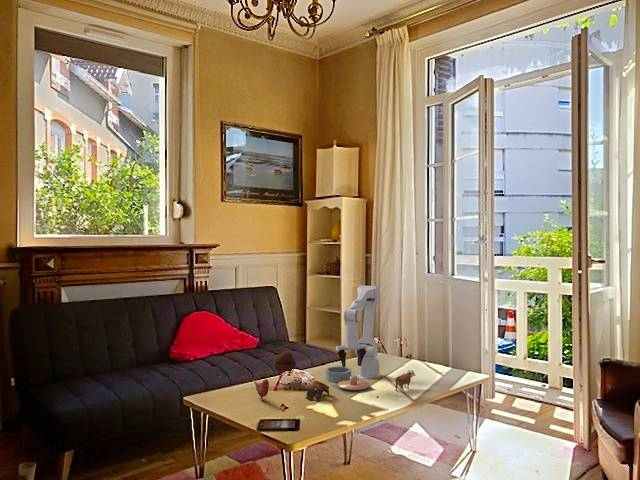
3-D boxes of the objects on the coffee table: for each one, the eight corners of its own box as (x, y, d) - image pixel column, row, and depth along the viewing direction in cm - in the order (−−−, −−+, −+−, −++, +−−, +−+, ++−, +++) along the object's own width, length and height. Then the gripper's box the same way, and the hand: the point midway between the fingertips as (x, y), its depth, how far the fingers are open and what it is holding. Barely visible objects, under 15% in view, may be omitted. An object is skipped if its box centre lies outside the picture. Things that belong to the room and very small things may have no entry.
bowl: (344, 375, 270) (344, 365, 270) (355, 381, 259) (355, 371, 259) (321, 378, 265) (321, 368, 265) (332, 384, 254) (332, 374, 254)
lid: (359, 381, 258) (359, 371, 257) (374, 389, 245) (374, 379, 245) (332, 385, 252) (332, 374, 252) (346, 393, 239) (346, 382, 239)
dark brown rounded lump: (297, 380, 262) (297, 348, 262) (294, 386, 251) (294, 353, 251) (275, 379, 263) (275, 348, 263) (271, 386, 252) (271, 353, 252)
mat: (360, 382, 258) (360, 381, 258) (376, 390, 245) (376, 390, 245) (331, 386, 252) (331, 385, 252) (346, 395, 238) (346, 394, 238)
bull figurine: (417, 387, 250) (417, 369, 250) (400, 394, 240) (400, 375, 240) (409, 385, 253) (409, 367, 253) (391, 392, 243) (391, 373, 243)
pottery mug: (302, 397, 238) (310, 378, 240) (322, 406, 238) (329, 387, 241) (307, 397, 226) (315, 378, 229) (328, 407, 227) (336, 388, 230)
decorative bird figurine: (265, 405, 224) (265, 381, 224) (249, 394, 240) (249, 371, 239) (271, 404, 225) (271, 380, 225) (256, 393, 241) (256, 370, 241)
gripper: (340, 338, 242) (340, 369, 242) (370, 336, 247) (370, 367, 247) (334, 335, 248) (334, 365, 248) (363, 334, 253) (363, 363, 253)
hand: (351, 366), depth 248 cm, fingers open, 7 cm apart
